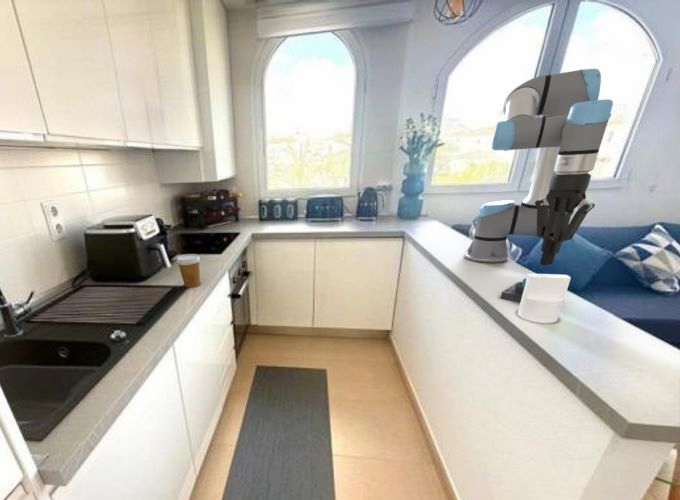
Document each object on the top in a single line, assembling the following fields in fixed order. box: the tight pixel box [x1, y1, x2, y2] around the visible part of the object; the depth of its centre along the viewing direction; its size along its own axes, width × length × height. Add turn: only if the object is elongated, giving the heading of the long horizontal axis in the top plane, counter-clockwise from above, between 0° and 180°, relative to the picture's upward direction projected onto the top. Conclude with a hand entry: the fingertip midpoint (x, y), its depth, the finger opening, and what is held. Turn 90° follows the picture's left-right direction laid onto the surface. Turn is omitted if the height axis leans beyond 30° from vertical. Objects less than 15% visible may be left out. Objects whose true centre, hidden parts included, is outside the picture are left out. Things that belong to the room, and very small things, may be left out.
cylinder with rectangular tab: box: [517, 273, 572, 324], centre depth 94 cm, size 9×9×12 cm
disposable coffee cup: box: [176, 253, 201, 288], centre depth 142 cm, size 10×10×12 cm
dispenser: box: [500, 281, 524, 304], centre depth 108 cm, size 12×10×4 cm
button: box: [521, 277, 527, 287], centre depth 107 cm, size 4×4×2 cm
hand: (546, 263), depth 95 cm, fingers closed
